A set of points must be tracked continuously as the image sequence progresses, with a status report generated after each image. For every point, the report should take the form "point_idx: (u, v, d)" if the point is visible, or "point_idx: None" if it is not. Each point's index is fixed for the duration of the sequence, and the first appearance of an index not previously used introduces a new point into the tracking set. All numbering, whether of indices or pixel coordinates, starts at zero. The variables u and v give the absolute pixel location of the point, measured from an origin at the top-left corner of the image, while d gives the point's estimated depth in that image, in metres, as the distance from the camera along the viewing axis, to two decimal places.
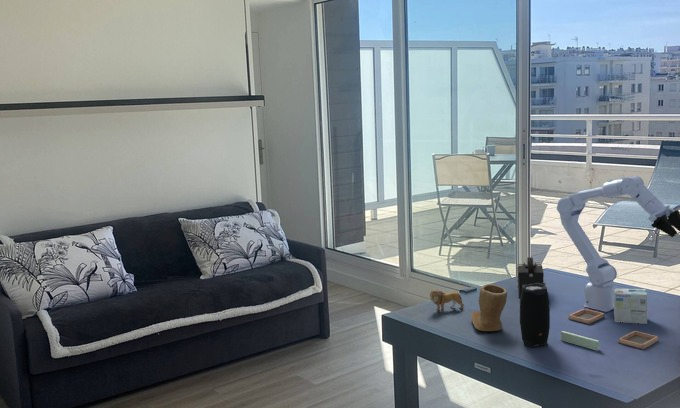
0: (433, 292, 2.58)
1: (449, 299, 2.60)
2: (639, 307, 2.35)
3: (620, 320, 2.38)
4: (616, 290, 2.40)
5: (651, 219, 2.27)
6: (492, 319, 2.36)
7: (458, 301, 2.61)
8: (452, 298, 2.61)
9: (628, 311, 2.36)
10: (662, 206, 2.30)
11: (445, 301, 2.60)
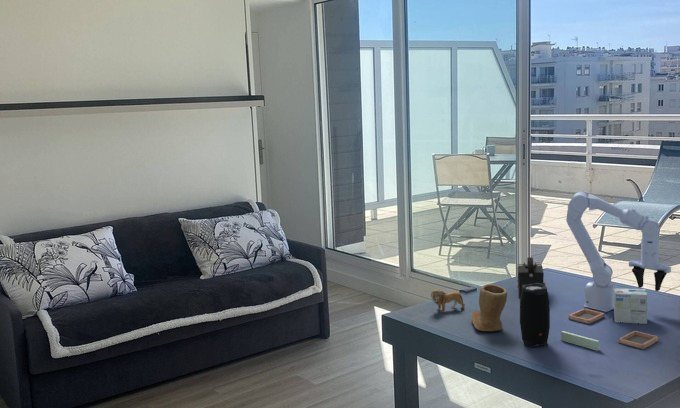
0: (434, 292, 2.58)
1: (450, 299, 2.60)
2: (639, 307, 2.35)
3: (620, 320, 2.38)
4: (616, 290, 2.40)
5: (669, 270, 2.39)
6: (492, 319, 2.36)
7: (459, 301, 2.61)
8: (453, 298, 2.61)
9: (628, 311, 2.36)
10: None
11: (446, 301, 2.60)
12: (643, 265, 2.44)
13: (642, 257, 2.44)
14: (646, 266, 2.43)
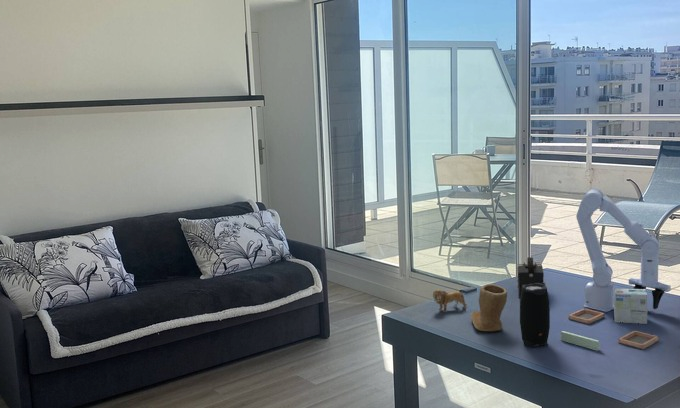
0: (436, 292, 2.58)
1: (452, 299, 2.61)
2: (639, 307, 2.35)
3: (620, 320, 2.38)
4: (616, 290, 2.40)
5: (668, 289, 2.40)
6: (492, 319, 2.36)
7: (461, 301, 2.61)
8: (455, 298, 2.61)
9: (628, 311, 2.36)
10: None
11: (448, 301, 2.60)
12: (643, 283, 2.45)
13: (642, 275, 2.45)
14: (646, 284, 2.44)
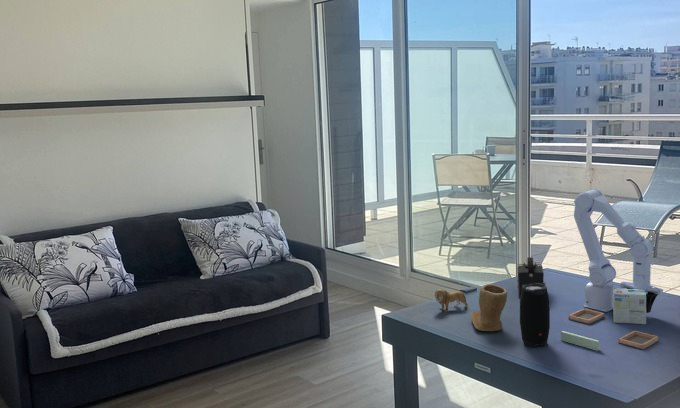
0: (438, 292, 2.58)
1: (453, 298, 2.61)
2: (637, 307, 2.34)
3: (619, 320, 2.38)
4: (615, 290, 2.40)
5: (661, 292, 2.37)
6: (492, 319, 2.36)
7: (462, 300, 2.61)
8: (456, 297, 2.61)
9: (627, 312, 2.36)
10: None
11: (450, 300, 2.60)
12: (635, 287, 2.41)
13: (634, 279, 2.42)
14: (638, 288, 2.40)
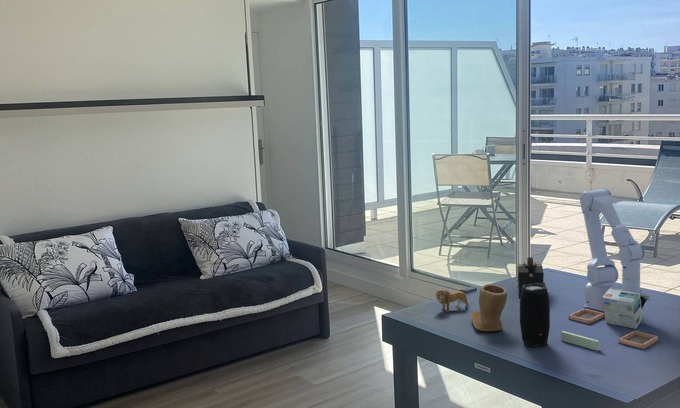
0: (439, 291, 2.58)
1: (454, 298, 2.61)
2: (626, 312, 2.31)
3: (610, 322, 2.37)
4: (608, 292, 2.36)
5: (650, 297, 2.32)
6: (492, 319, 2.36)
7: (463, 300, 2.61)
8: (457, 297, 2.61)
9: (616, 315, 2.34)
10: None
11: (451, 300, 2.61)
12: None
13: (623, 283, 2.37)
14: None
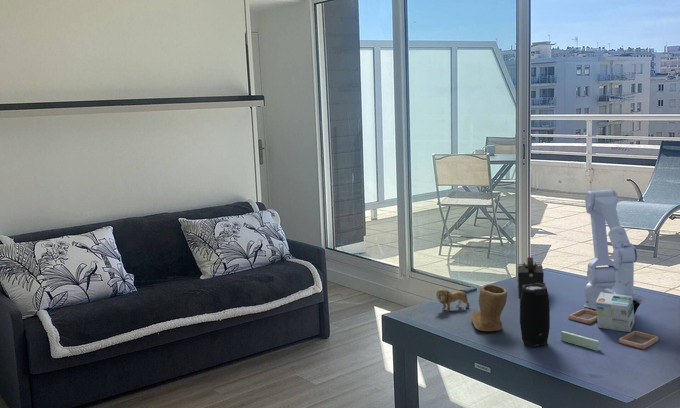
0: (440, 291, 2.58)
1: (455, 298, 2.61)
2: (620, 317, 2.27)
3: (603, 326, 2.33)
4: (600, 296, 2.32)
5: (642, 301, 2.29)
6: (492, 319, 2.36)
7: (464, 300, 2.62)
8: (458, 297, 2.61)
9: (610, 319, 2.30)
10: None
11: (451, 300, 2.61)
12: None
13: (616, 286, 2.35)
14: None
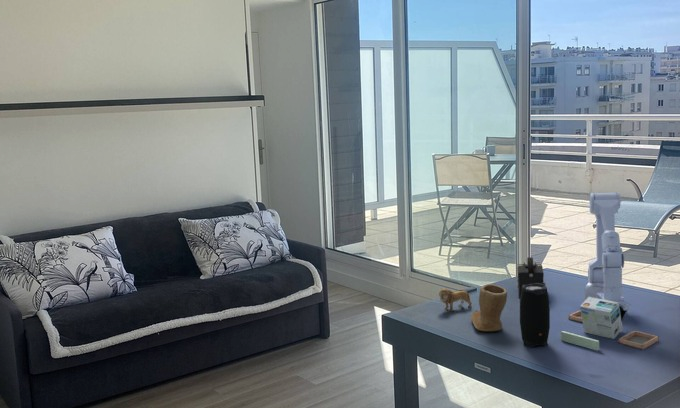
0: (442, 291, 2.58)
1: (458, 298, 2.61)
2: (604, 322, 2.23)
3: (589, 331, 2.29)
4: (586, 301, 2.29)
5: (626, 308, 2.24)
6: (492, 319, 2.36)
7: (466, 299, 2.62)
8: (461, 297, 2.62)
9: (594, 325, 2.26)
10: None
11: (454, 300, 2.61)
12: (603, 299, 2.31)
13: (603, 290, 2.31)
14: None
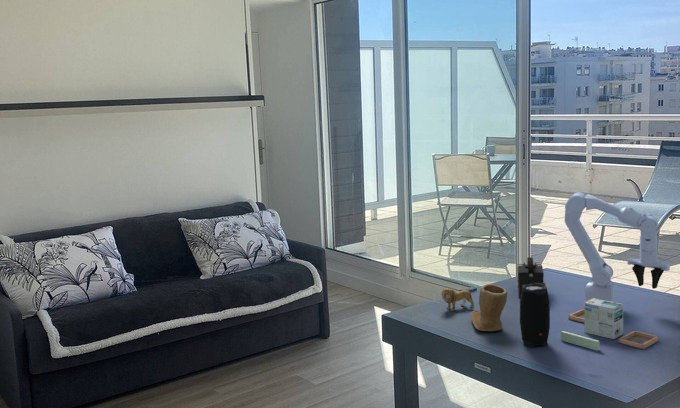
0: (445, 291, 2.59)
1: (460, 297, 2.62)
2: (606, 320, 2.24)
3: (589, 331, 2.29)
4: (591, 300, 2.31)
5: (667, 268, 2.38)
6: (492, 319, 2.36)
7: (469, 299, 2.62)
8: (463, 296, 2.62)
9: (596, 323, 2.27)
10: None
11: (456, 299, 2.61)
12: (642, 263, 2.43)
13: (641, 255, 2.43)
14: (645, 264, 2.42)
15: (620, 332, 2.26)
